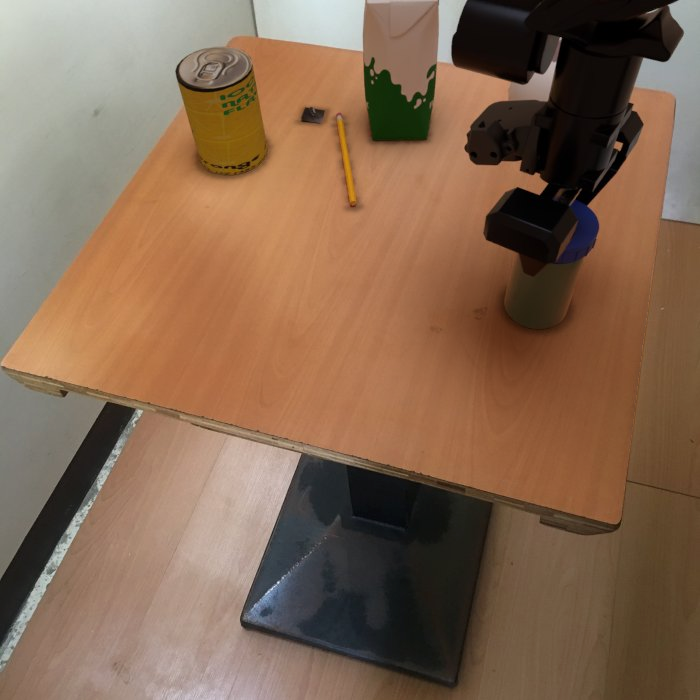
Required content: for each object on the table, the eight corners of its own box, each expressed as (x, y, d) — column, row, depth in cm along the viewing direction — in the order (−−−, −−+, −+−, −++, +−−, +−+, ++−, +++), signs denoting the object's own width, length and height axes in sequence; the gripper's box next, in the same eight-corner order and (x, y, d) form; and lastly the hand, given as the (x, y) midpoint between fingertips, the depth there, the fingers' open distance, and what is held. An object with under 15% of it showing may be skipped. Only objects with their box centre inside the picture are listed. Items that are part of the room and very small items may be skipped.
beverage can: (274, 133, 87) (260, 47, 77) (258, 177, 81) (241, 90, 72) (210, 130, 88) (188, 45, 78) (191, 172, 83) (165, 87, 73)
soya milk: (434, 144, 84) (445, -18, 68) (364, 145, 84) (359, -15, 68) (431, 105, 89) (441, -54, 73) (366, 106, 90) (361, -51, 73)
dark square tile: (325, 110, 89) (325, 102, 88) (320, 123, 88) (320, 115, 87) (305, 107, 90) (305, 99, 89) (300, 120, 88) (300, 112, 87)
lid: (500, 227, 60) (503, 213, 59) (560, 200, 62) (564, 185, 60) (549, 275, 56) (553, 260, 55) (611, 244, 58) (617, 229, 57)
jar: (564, 284, 69) (590, 205, 60) (569, 331, 65) (597, 254, 56) (503, 280, 69) (520, 202, 60) (504, 327, 66) (522, 251, 57)
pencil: (342, 116, 88) (341, 112, 88) (356, 205, 77) (356, 200, 77) (336, 117, 88) (335, 112, 87) (350, 205, 77) (349, 201, 77)
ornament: (555, 161, 81) (578, 72, 71) (488, 130, 85) (501, 42, 75) (598, 123, 85) (625, 34, 75) (531, 95, 89) (549, 7, 79)
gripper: (541, 16, 55) (513, 165, 68) (431, 128, 47) (422, 276, 59) (672, 49, 51) (616, 202, 64) (577, 180, 42) (534, 327, 55)
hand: (547, 247), depth 60 cm, fingers open, 7 cm apart
